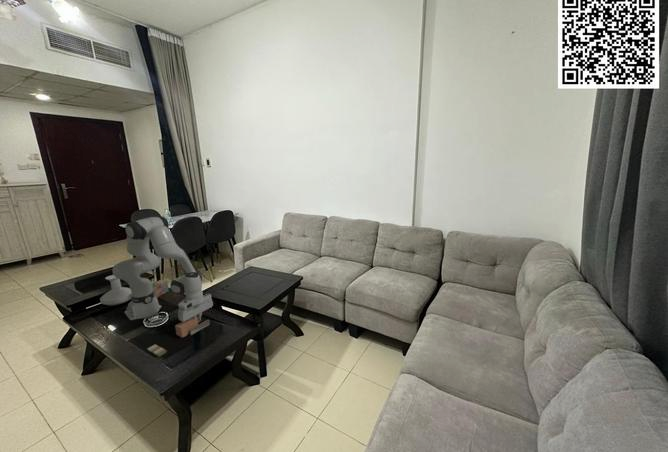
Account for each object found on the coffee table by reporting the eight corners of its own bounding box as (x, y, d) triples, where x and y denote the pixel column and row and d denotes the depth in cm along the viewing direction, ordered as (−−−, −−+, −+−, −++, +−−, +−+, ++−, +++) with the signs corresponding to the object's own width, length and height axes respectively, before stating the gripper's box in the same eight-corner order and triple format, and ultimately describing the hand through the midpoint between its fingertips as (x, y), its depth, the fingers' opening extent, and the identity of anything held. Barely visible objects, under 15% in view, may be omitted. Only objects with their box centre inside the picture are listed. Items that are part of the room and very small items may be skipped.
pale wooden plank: (147, 350, 139) (146, 343, 138) (202, 319, 166) (201, 314, 165) (159, 356, 134) (157, 349, 133) (213, 324, 161) (213, 318, 160)
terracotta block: (176, 334, 149) (175, 325, 148) (193, 325, 158) (191, 316, 157) (182, 337, 147) (180, 328, 145) (198, 328, 155) (197, 319, 154)
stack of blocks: (162, 290, 209) (160, 276, 207) (169, 290, 208) (166, 276, 206) (138, 303, 189) (135, 287, 186) (145, 304, 188) (142, 288, 185)
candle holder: (135, 292, 207) (130, 269, 203) (137, 301, 192) (132, 277, 187) (101, 300, 194) (96, 276, 190) (100, 311, 179) (95, 285, 175)
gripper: (207, 291, 165) (209, 310, 168) (175, 305, 147) (178, 327, 150) (213, 293, 162) (216, 313, 165) (181, 308, 145) (185, 330, 147)
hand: (198, 320), depth 158 cm, fingers closed
